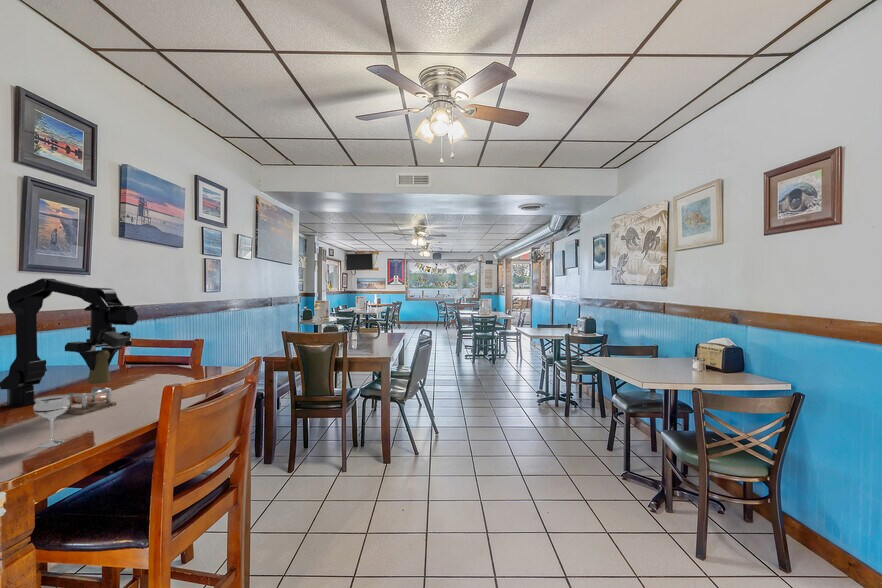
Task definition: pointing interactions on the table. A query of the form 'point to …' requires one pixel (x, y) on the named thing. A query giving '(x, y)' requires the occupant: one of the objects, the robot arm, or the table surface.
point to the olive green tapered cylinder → (100, 368)
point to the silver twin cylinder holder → (93, 394)
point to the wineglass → (51, 412)
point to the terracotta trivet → (98, 398)
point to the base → (94, 407)
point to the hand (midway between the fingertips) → (99, 369)
